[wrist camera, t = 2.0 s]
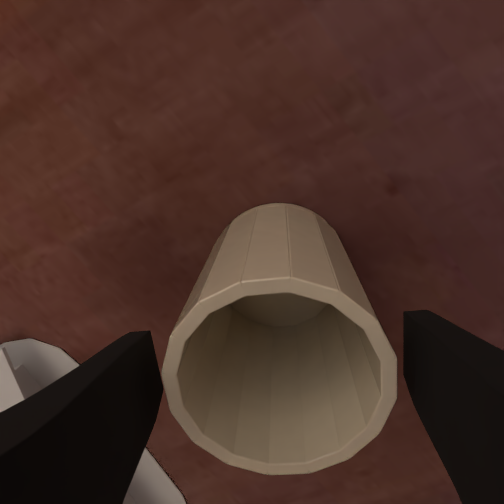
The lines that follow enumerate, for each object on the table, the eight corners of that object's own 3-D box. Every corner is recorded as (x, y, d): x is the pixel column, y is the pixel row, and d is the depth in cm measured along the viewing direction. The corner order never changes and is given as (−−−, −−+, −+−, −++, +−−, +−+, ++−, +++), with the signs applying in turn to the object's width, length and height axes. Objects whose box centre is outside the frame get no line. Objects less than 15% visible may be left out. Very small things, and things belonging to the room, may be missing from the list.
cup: (343, 195, 16) (397, 268, 9) (348, 322, 18) (398, 471, 11) (203, 210, 17) (141, 289, 9) (222, 331, 19) (184, 479, 11)
